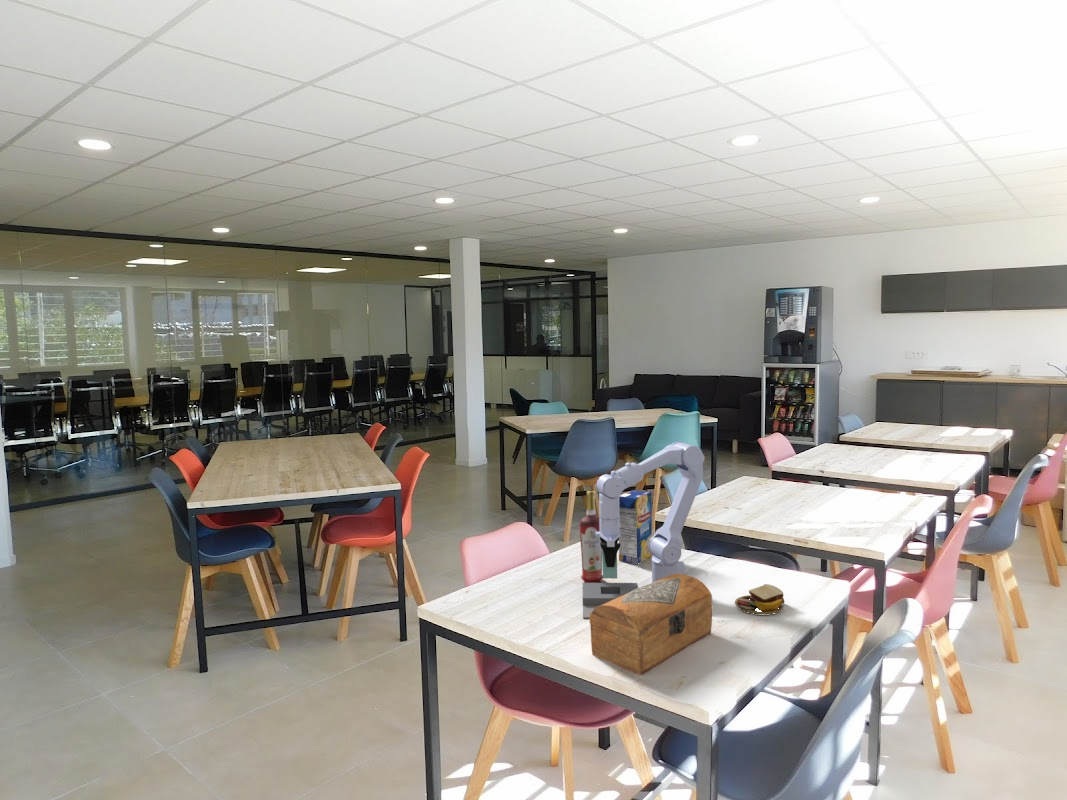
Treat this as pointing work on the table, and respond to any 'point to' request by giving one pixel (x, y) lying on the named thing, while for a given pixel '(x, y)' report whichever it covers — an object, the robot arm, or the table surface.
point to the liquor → (591, 543)
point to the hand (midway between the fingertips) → (610, 564)
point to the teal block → (609, 568)
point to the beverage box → (635, 526)
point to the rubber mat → (587, 611)
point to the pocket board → (605, 592)
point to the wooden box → (652, 623)
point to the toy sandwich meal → (762, 600)
